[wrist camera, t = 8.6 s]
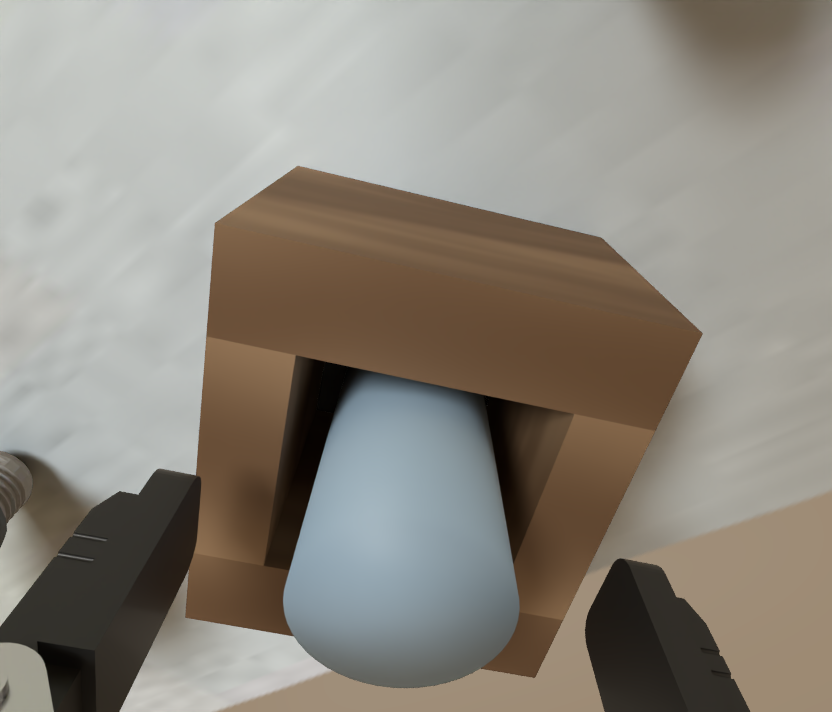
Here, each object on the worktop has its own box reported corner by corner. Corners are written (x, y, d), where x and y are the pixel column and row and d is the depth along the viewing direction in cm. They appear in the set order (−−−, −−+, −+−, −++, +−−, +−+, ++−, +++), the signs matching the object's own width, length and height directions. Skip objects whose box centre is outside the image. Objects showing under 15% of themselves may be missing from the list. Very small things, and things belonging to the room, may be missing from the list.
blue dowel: (365, 285, 18) (300, 498, 9) (491, 313, 18) (551, 546, 9) (343, 395, 20) (270, 667, 11) (458, 419, 20) (482, 703, 11)
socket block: (298, 165, 16) (214, 222, 10) (601, 237, 17) (702, 333, 11) (259, 451, 21) (185, 617, 14) (503, 499, 21) (534, 678, 15)
